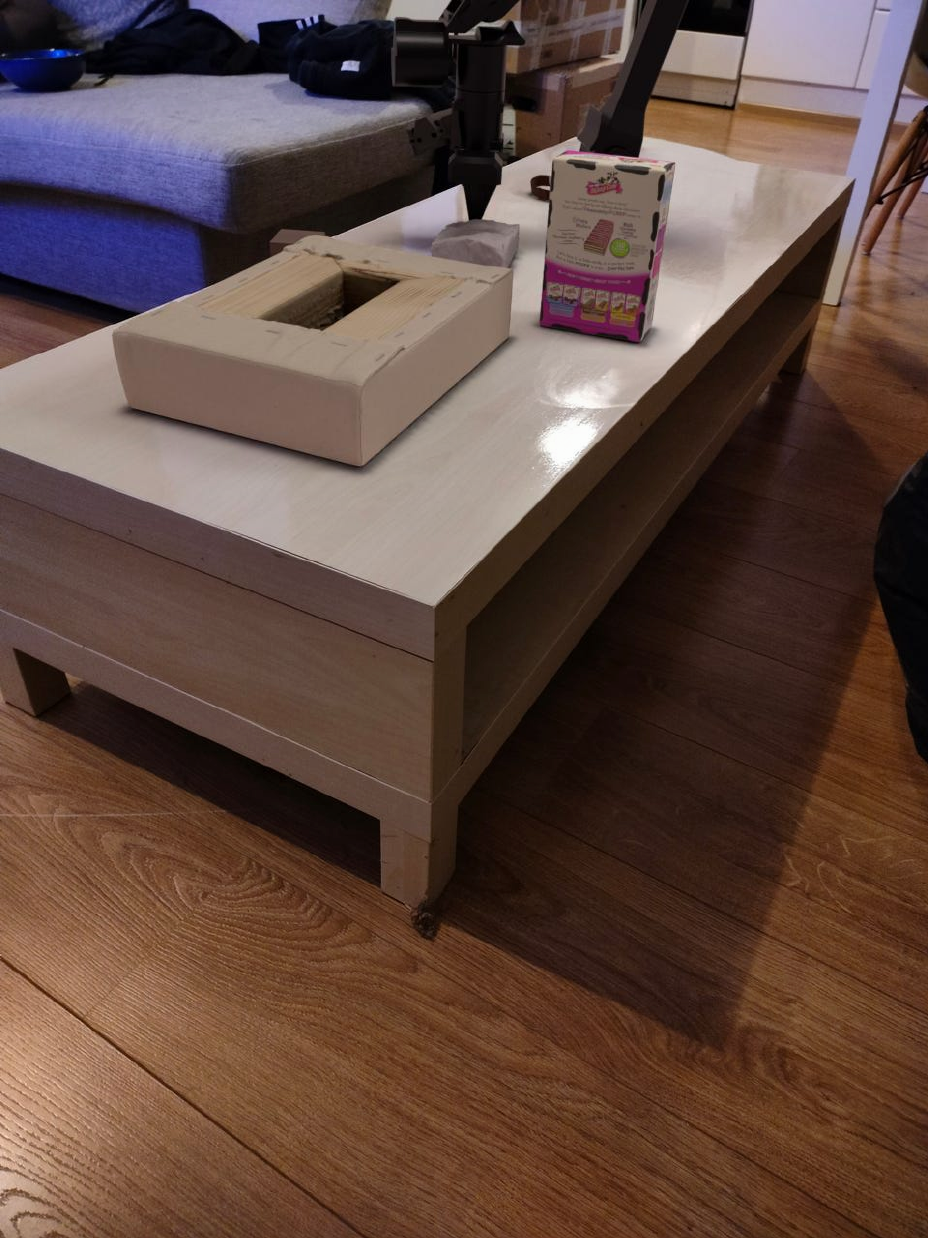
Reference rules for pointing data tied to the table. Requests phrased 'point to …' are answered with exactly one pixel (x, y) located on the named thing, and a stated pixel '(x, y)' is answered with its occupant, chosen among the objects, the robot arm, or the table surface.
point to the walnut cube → (288, 239)
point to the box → (317, 346)
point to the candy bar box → (604, 243)
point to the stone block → (478, 242)
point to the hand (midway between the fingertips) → (474, 226)
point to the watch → (540, 181)
